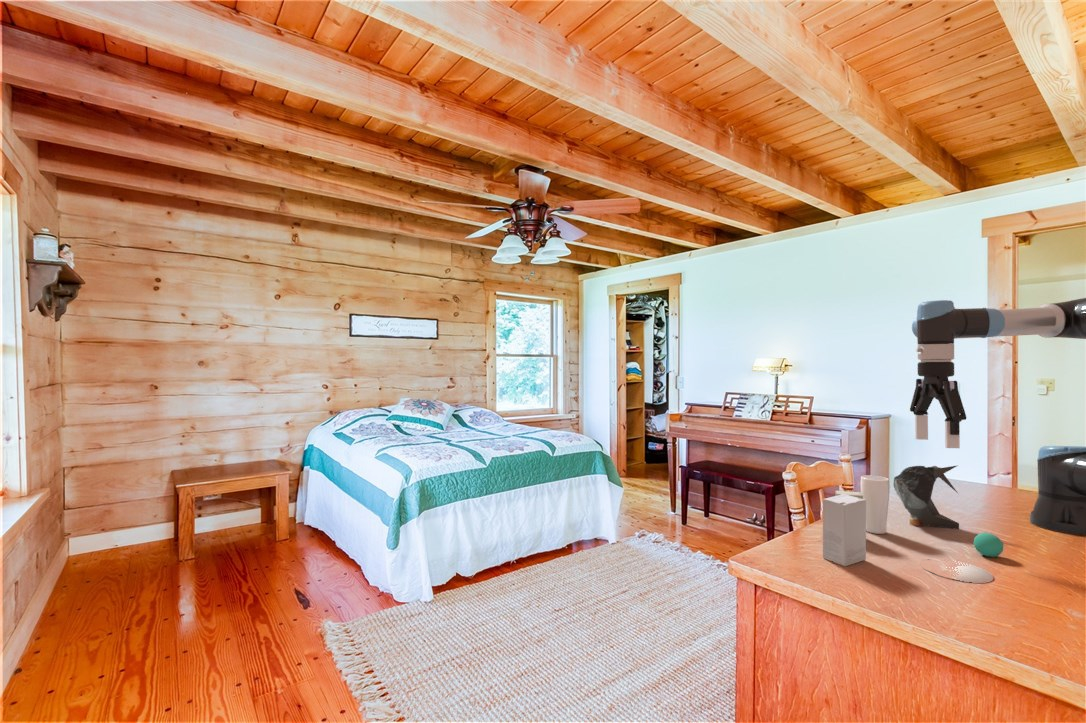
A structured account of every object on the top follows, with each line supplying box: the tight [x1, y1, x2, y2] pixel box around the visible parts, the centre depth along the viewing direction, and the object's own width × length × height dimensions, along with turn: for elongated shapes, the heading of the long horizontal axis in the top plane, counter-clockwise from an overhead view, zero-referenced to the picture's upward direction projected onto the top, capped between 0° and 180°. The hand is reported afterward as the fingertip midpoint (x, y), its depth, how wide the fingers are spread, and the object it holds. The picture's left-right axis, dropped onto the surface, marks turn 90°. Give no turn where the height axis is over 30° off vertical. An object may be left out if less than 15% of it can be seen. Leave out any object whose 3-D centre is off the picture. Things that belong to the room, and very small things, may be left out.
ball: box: [973, 532, 1004, 558], centre depth 125 cm, size 6×6×6 cm
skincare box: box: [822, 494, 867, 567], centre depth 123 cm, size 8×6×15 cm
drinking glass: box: [860, 474, 890, 535], centre depth 143 cm, size 7×7×15 cm
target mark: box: [946, 560, 994, 584], centre depth 116 cm, size 13×13×1 cm
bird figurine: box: [893, 465, 960, 530], centre depth 149 cm, size 14×15×18 cm
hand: (936, 443), depth 132 cm, fingers open, 13 cm apart
